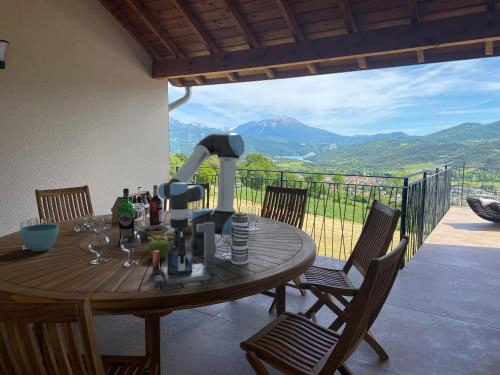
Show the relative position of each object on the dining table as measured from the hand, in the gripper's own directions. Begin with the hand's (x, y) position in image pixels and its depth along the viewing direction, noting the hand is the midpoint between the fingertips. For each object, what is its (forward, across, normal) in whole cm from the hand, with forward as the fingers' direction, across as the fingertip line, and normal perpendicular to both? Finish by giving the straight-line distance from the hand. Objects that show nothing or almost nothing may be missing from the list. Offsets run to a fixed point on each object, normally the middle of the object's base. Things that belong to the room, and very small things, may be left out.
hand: (179, 265), depth 153 cm
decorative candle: (+5, -11, +32) cm, 34 cm away
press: (+5, +1, +2) cm, 5 cm away
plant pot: (+5, -62, -66) cm, 91 cm away
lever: (+4, -5, -9) cm, 11 cm away
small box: (+3, 0, 0) cm, 3 cm away
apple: (+5, -28, -6) cm, 29 cm away
